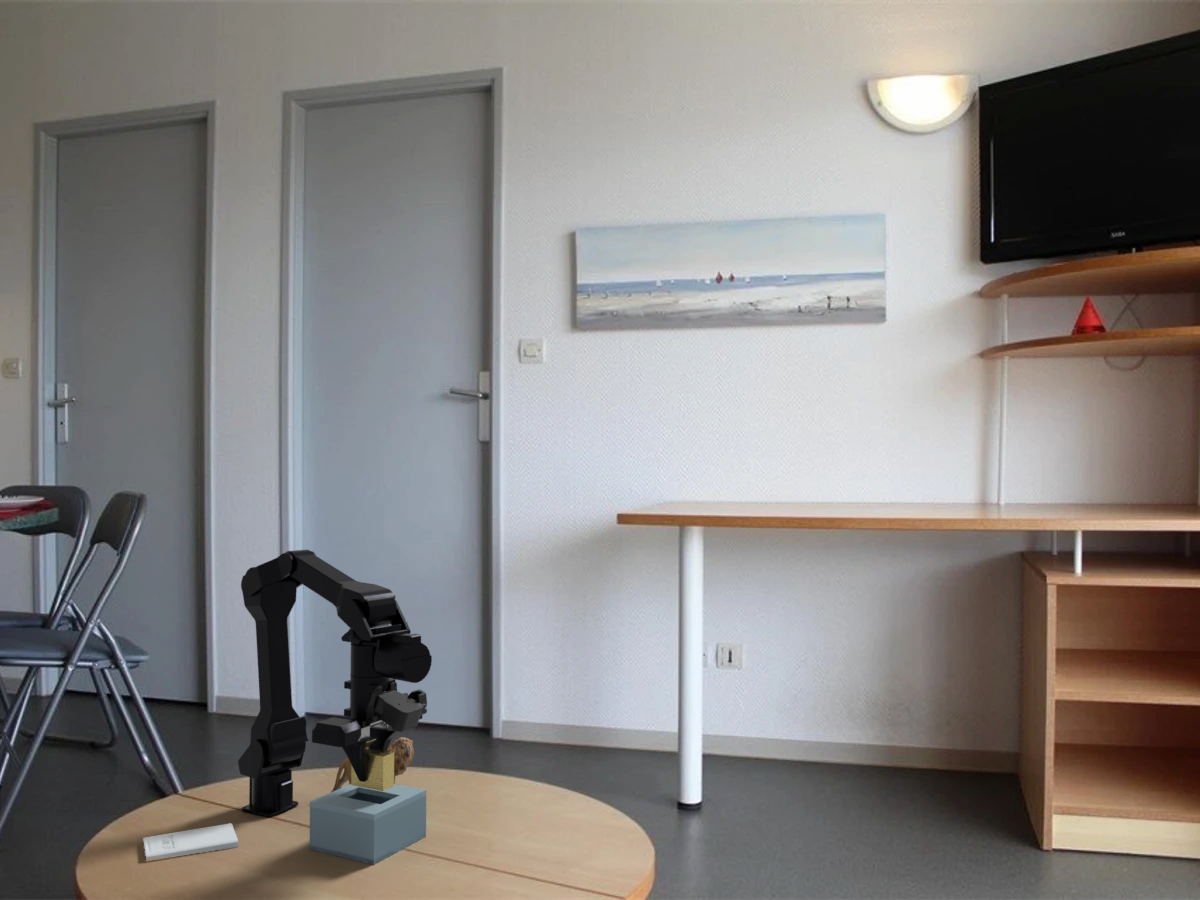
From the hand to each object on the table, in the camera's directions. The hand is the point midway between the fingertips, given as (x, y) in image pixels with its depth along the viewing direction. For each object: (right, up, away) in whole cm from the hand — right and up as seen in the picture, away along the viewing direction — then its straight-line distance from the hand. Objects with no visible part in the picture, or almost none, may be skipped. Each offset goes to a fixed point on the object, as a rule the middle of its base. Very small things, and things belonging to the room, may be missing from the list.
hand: (369, 778), depth 147 cm
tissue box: (0, -10, 0) cm, 10 cm away
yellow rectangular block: (+1, -1, 0) cm, 1 cm away
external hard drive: (-26, -10, -1) cm, 28 cm away
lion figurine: (-4, -10, +22) cm, 25 cm away
